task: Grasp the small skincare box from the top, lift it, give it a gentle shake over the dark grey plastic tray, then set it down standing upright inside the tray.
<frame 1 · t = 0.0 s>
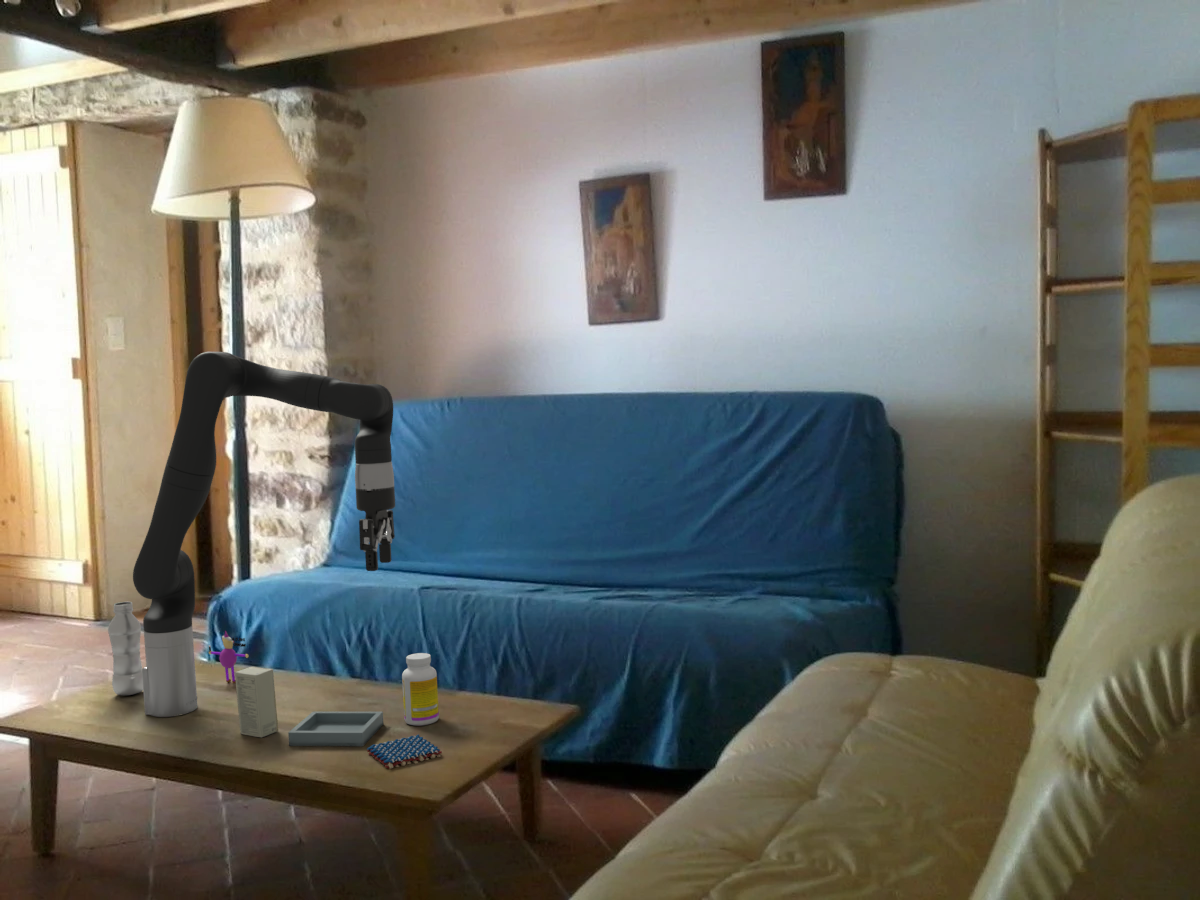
hand: (379, 566, 214), 29 cm above the table, tool pointing down, fingers open, 8 cm apart
tray: (337, 734, 202), on the table
skincare box: (258, 733, 205), on the table
supplement bottle: (421, 722, 209), on the table
wizard figurine: (229, 684, 239), on the table
woven mat: (404, 758, 191), on the table
plastic bottle: (129, 695, 234), on the table
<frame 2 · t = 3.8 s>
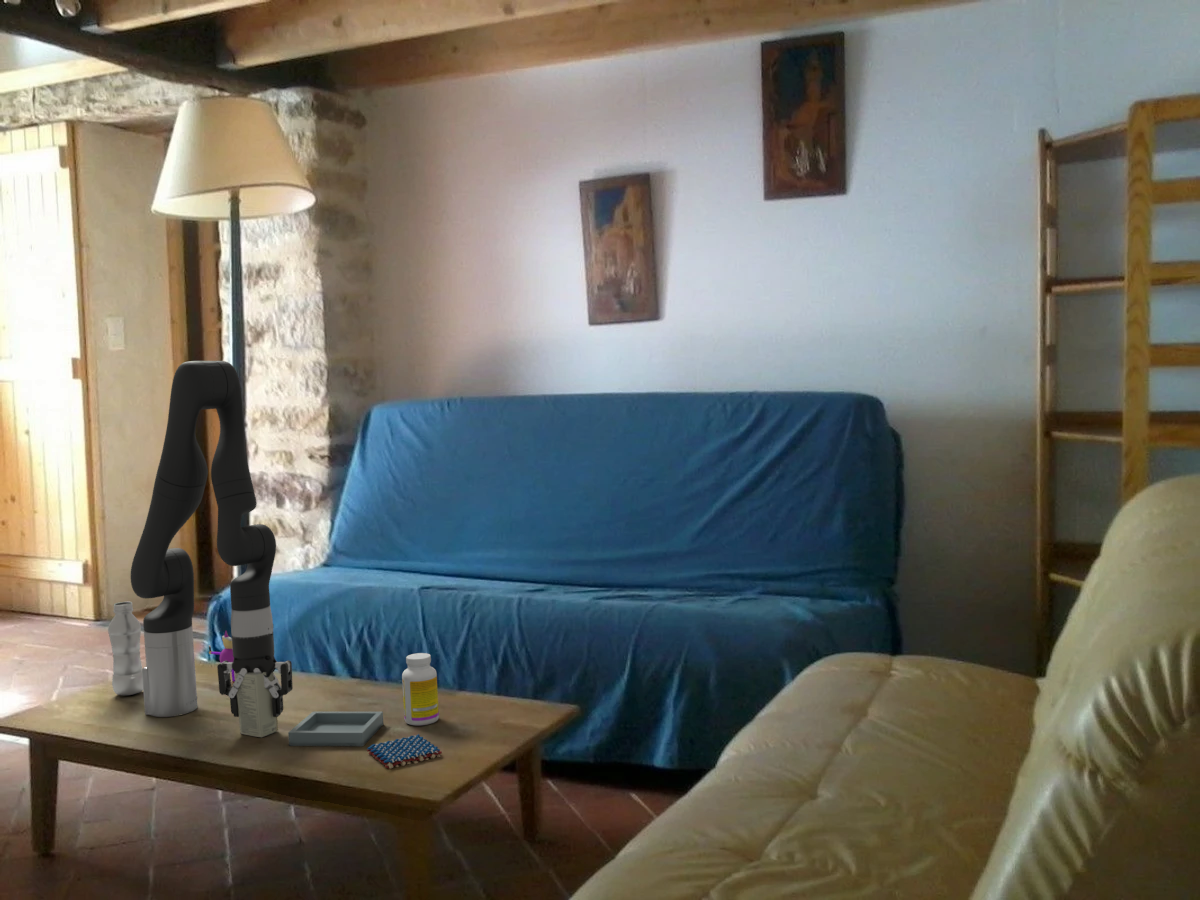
hand: (257, 715, 205), 3 cm above the table, tool pointing down, fingers closed on skincare box, 7 cm apart
skincare box: (258, 733, 205), on the table, touching gripper
everything else where it was.
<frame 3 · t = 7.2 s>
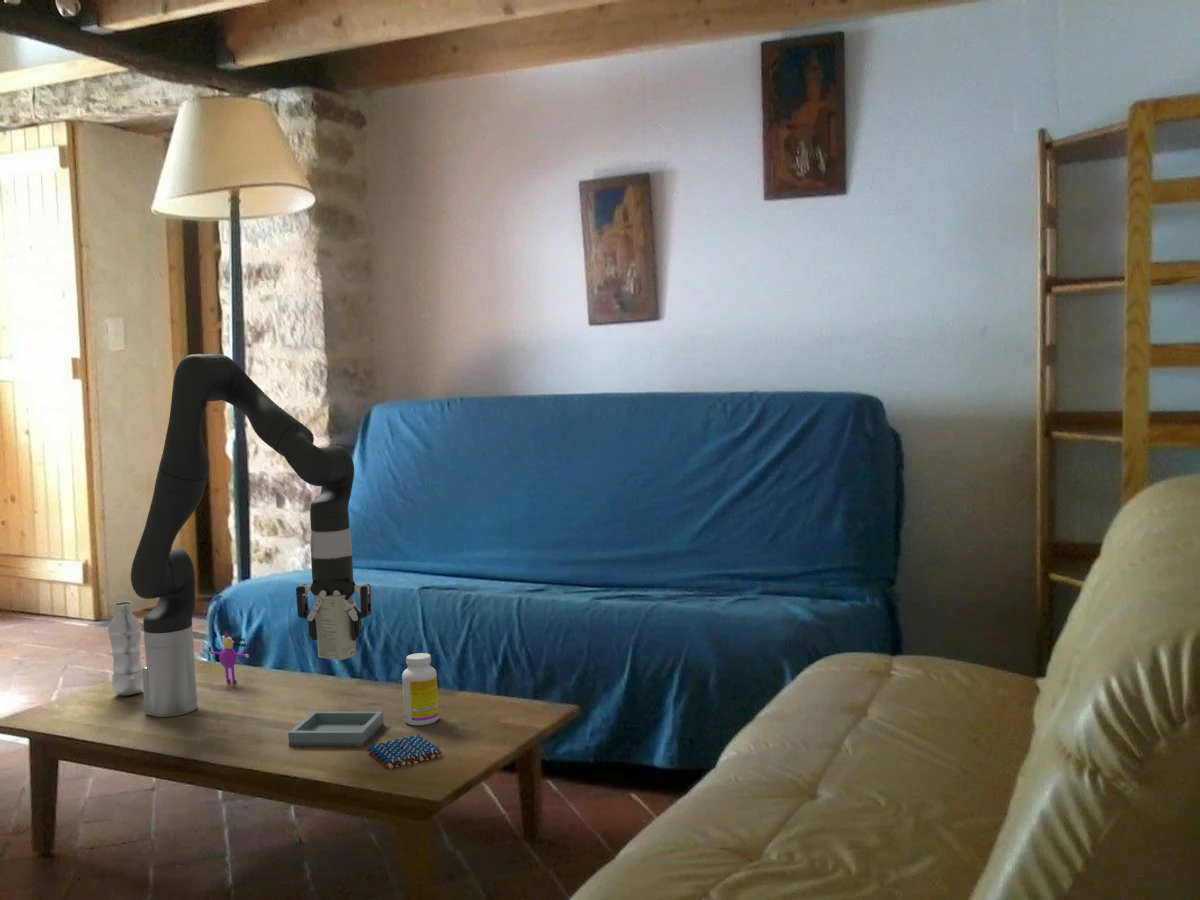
hand: (336, 639, 203), 18 cm above the table, tool pointing down, fingers closed on skincare box, 7 cm apart
skincare box: (336, 657, 203), point 14 cm above the table, touching gripper
everything else where it was.
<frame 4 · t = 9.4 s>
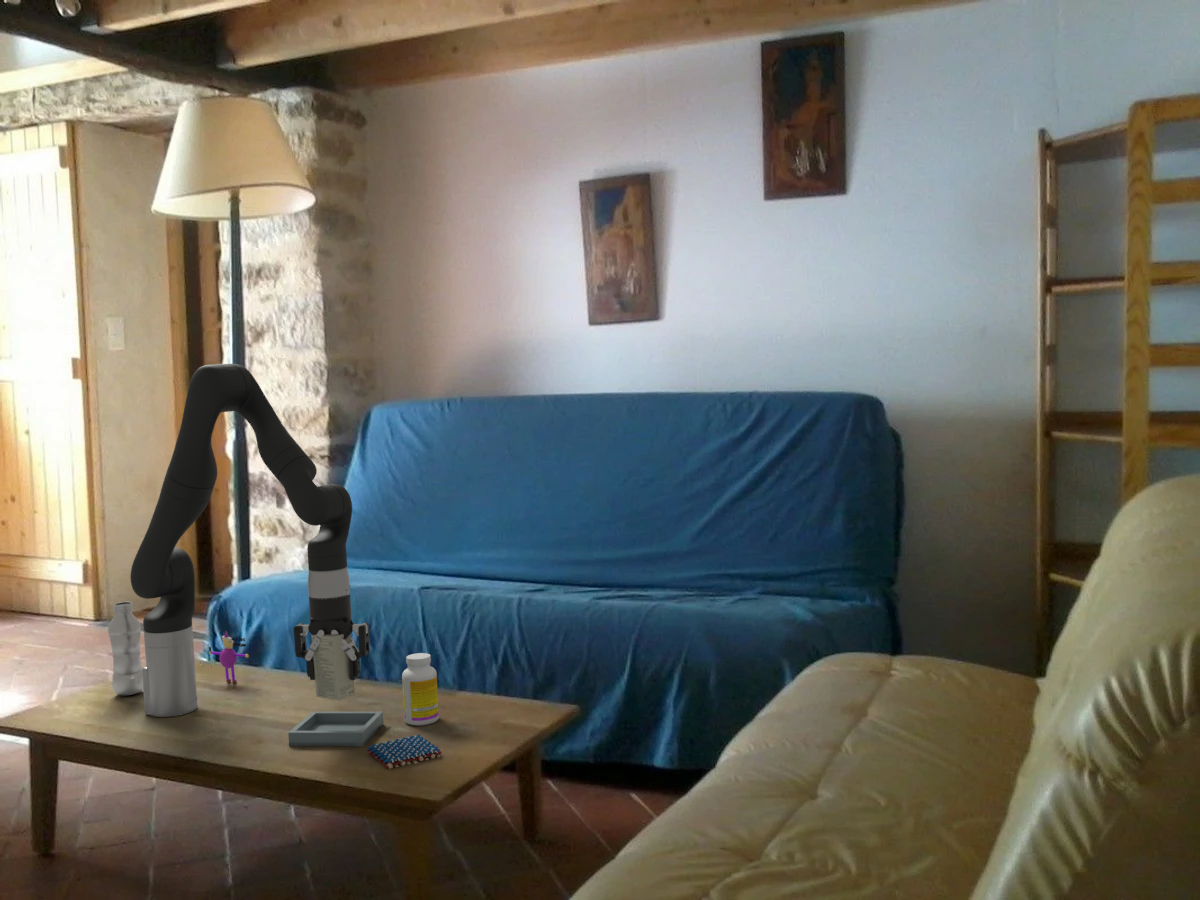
hand: (334, 678, 202), 11 cm above the table, tool pointing down, fingers closed on skincare box, 7 cm apart
skincare box: (334, 697, 202), point 7 cm above the table, touching gripper
everything else where it was.
when the fingers open (5 cm above the table, at t = 11.1 s): skincare box drops 1 cm, resting on tray.
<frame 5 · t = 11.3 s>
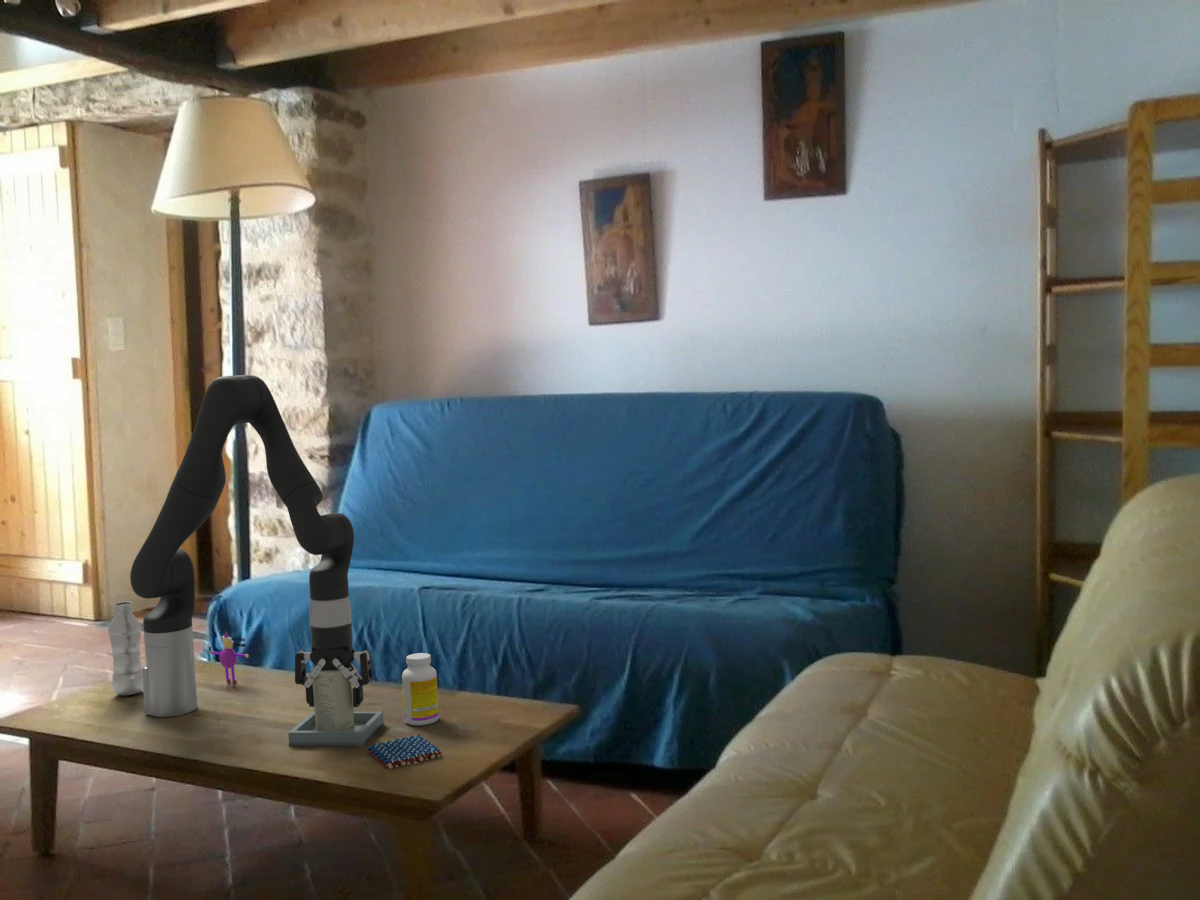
hand: (335, 705, 202), 6 cm above the table, tool pointing down, fingers open, 8 cm apart
skincare box: (334, 732, 202), resting on tray, touching gripper
everything else where it was.
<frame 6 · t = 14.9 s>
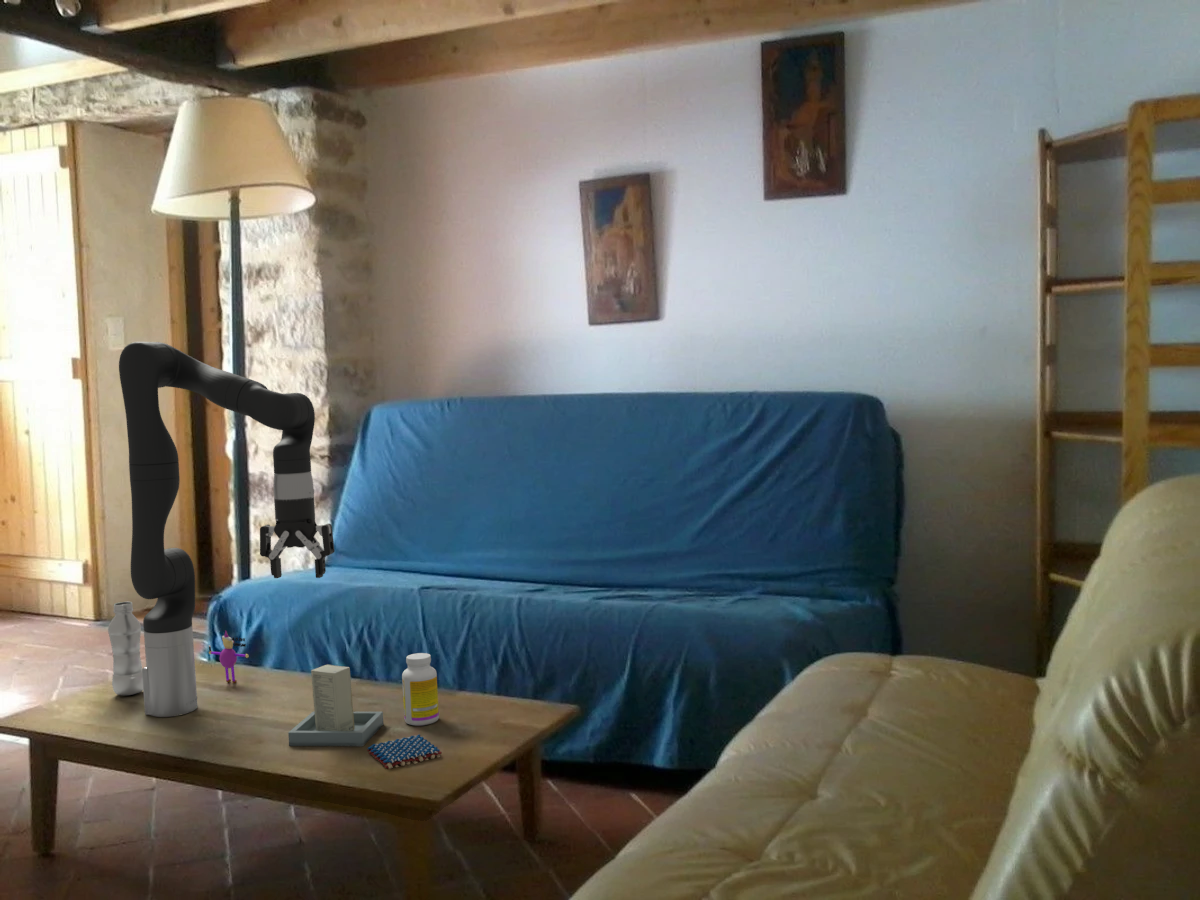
hand: (298, 577, 211), 28 cm above the table, tool pointing down, fingers open, 8 cm apart
skincare box: (334, 732, 202), resting on tray
everything else where it was.
at the end: skincare box inside the target area on the tray (0.5 cm from its centre), point 0.4 cm above the tray's base; skincare box tilted 0°; the gripper is holding nothing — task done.
